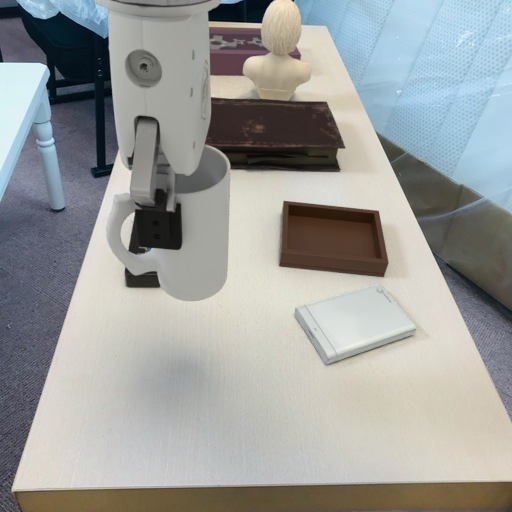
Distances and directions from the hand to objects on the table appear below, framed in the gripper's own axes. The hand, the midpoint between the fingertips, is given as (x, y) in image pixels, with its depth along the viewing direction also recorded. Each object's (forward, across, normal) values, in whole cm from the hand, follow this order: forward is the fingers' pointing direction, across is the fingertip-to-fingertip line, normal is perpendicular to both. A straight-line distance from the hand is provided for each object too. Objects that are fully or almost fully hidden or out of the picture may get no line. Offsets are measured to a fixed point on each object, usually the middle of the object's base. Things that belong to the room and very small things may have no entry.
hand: (170, 214), depth 41 cm
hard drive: (+22, +9, -20) cm, 31 cm away
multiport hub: (+22, +19, +8) cm, 30 cm away
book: (+21, +87, +1) cm, 90 cm away
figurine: (+21, +68, -8) cm, 72 cm away
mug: (+8, 0, 0) cm, 8 cm away
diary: (+22, +50, -7) cm, 55 cm away
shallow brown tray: (+22, +24, -18) cm, 37 cm away
